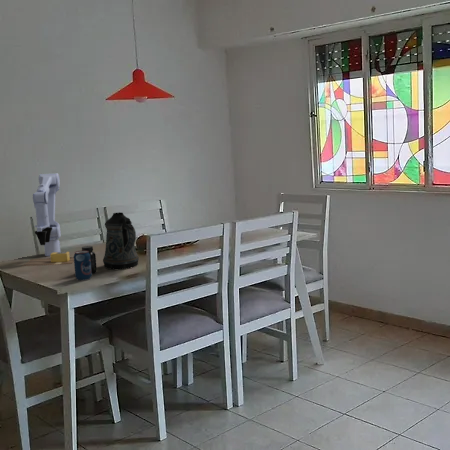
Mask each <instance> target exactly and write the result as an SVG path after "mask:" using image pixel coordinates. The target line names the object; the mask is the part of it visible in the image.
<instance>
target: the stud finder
mask: <svg viewBox="0 0 450 450" xmlns="http://www.w3.org/2000/svg"><path fill="white" fill-rule="evenodd" d="M70 256H71V255H70V251H61V252H53V253H52V254H50V256H49V257H50V258H51V262H68V261H69V260H70Z"/></svg>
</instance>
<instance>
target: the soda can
mask: <svg viewBox="0 0 450 450" xmlns="http://www.w3.org/2000/svg"><path fill="white" fill-rule="evenodd" d="M73 257H74V262H73V265H74V275H75V276H74V277H75V278H76V280H77V281H88V280H90V279H91V278H92V275H93V274H92V271H91V260H90V254H89V252H88V251H87V250H82V249H81V250H77V251H75V252H74V255H73Z"/></svg>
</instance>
